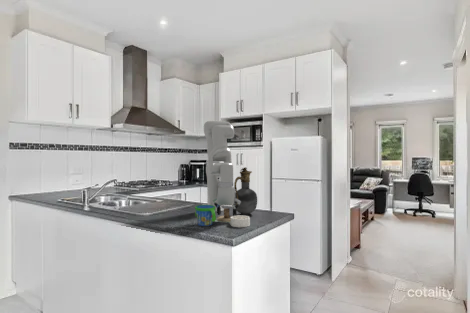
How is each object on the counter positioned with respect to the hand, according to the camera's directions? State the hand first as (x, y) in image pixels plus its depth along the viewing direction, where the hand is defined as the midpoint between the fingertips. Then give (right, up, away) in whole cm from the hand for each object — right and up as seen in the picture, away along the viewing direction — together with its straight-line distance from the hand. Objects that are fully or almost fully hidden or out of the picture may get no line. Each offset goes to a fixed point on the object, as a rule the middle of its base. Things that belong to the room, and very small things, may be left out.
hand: (226, 215), depth 167 cm
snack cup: (-11, -3, -11) cm, 16 cm away
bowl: (+7, -3, -12) cm, 14 cm away
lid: (0, -3, 0) cm, 3 cm away
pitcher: (+10, -3, +11) cm, 16 cm away
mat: (0, -3, 0) cm, 3 cm away
